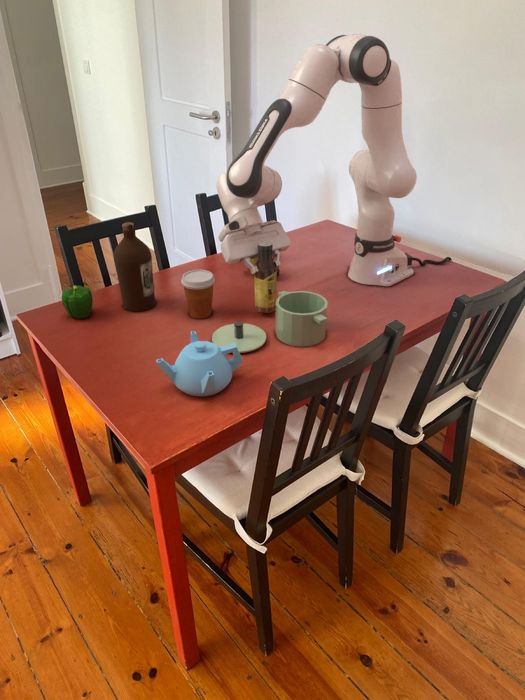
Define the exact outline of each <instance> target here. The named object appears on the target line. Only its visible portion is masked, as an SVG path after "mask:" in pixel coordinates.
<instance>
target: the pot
mask: <svg viewBox="0 0 525 700" xmlns="http://www.w3.org/2000/svg"><path fill="white" fill-rule="evenodd" d="M277 296H278V297H276V308H275V315H274V316H275V317H274V318H275V320H274V321H275V328H274V329H275V336H276V338H277V339H278V340H279V341H280V342H282V343H283V344H286V345H288V346H293V347H310V346H314V345H318V344H319V343H321V342H323V341H324V340H325V339H326V336H327V335H326V333H327V325H328V324H327V323H328V313H329V311H328V309H329V302H328V300H327V298H326V297H325V296H323V295H321V294H320V293H317V292H313V291H305V290H297V291H296V290H295V291H287V290H281V291H279V292H278V293H277Z"/></svg>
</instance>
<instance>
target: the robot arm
mask: <svg viewBox="0 0 525 700" xmlns="http://www.w3.org/2000/svg"><path fill="white" fill-rule="evenodd" d="M339 81H341V82H344V83H348V84H358V86H359V88H360V92H361V93H360V95H361V97H360V98H361V99H360V104H361V105H360V112H361V113H360V114H361V115H360V117H361V120H360V121H361V135H362V139H363V140H364V141H365V142H366V145H367V148H368V149H360V150H359V151H357V152H355V153H354V154H353V155H352V157H351V158H350V160H349V163H348V173H349V176H350V178H351V180H352V182H353V185H354V189H355V195H356V201H357V213H358V214H357V225H356V226H357V227H356V232H355V234H354V243H353V245H354V249H353V253H352V259H351V263H350V264H349V269H348V273H347V277H348V278H349V279H350V280H351V281H353V282H356V283H358V284H362V285H366V286H367V285H368V286H381V287H391V286H393V285H395V284H398V283H399V282H401V281H403V280H405V279H406V278H407V279H408V278H409V277H410V276H412V275H414V269H413V268H412V267H410V266H412V264H413V261H416V262H417V263H418V264H419V265H420V266H425V264H426V263H430V264H434V265H443V264H444V263H446V262H447V261H449V262H452V261H453V259H452V258H451V257H450V256H446V257H445V258H444V259H442V260H439V261H437V260H432V259H423V261H422V259H420V258H418V257H413V256H412V255H410V254H409V253H406V252H403V251H402V249H400V248H399V247H397V246H396V245H395V242H396V243H401V241H402V236H400V235H397V234H396V235H394V234H393V231H394V222H395V209H394V207H393V204H392V203H391V200H390V199H391V198H392V199H403V198H406V197H407V196H408V195H409V194H411V193H412V191H413V190H414V188H415V186H416V184H417V177H418V176H417V171H416V169H415V167H414V166H413V164H412V163H411V161H410V159H409V157H408V153H407V150H406V146H405V142H404V141H405V140H404V137H403V128H402V127H403V126H402V125H403V124H402V123H403V122H402V121H403V120H402V119H403V116H402V114H403V112H402V111H403V110H402V109H403V89H402V78H401V71H400V67H399V64H398V62H396V61H395V60H393V59H391V57H390V52H389V48H388V47H387V45H386V44H385V42H384V41H383V40H381V39H380V38H378V37H376V36H374V35H366V34H360V33H354V34H348V35H347V34H341V35H337V36H335V37H333V38H331V39H330V40H329V41H328V42H327V43H326V44H324V43H323V44H321V43H313V44H311V45H309V46H308V47H307V48H306V50H305V52H304V53H302V55H301V57H300V58H299V60H298V61H297V63H296V65H295V67H294V68H293V70H292V72H291V74H290V76H289V78H288V80H287V83H286V84H285V86H284V88H283V89H282V91H281V93H279V95H278V97H277V98H276V99H275V100H274V101H273V102H272V103H271V104H270V105H269V107H268V108H267V109H266V111H265V112H264V114H263V115H262V117H261V119H260V120H259V122H258V123H257V125H256V127H255V129H254V131H253V132H252V134H251V136H250V137H249V139H248V141H247V143H246V144H245V145H244V148H243V149H242V150H241V151H240V152H239V153H238V155H237V156H236V157H235V158H234V159H232V161H231V163H230V164H229V166H228V168H227V170H225V171H224V172H222V173H221V174H220V176H219V177H218V179H217V180H216V192H217V196H218V198H219V201H220V204H221V207H222V209H223V210H224V212H225V213H226V215H227V218H228V223H226V224H225V225H224V226H223V228H222V229H221V230H220V232H219V234H218V237H217V238H218V241H219V242H221V243H220V250H221V251H220V252H221V255H222V257H223V259H224V262H225V263H226V264H228V265H234V264H239V263H242V264H243V266H245V267H246V268H247V270H249V269H250V270H249V271H250V273H251V275H254V274H256V273H258V272H259V270H258V269H257V266H254V265H252V264H251V263H250V259H254V258H258V256H259V250H258V243H259V242H262V241H269V242H271V243H272V244H273V248H272V258H274V260H273V262H274V265H275V268H279V269H280V267H281V266H282V264H281V261H280V256H281V252H285V251H287V250H288V249H289V248H290V247H291V243H292V242H291V239H290V238H289V236H288V234H287V232H286V230H285V229H284V227H283V225H282V223H281V222H279V221H276V220H275V219H273V220H270V221H263V218H262V216H261V214H260V211H259V209H258V208H259V207H263V206H264V205H267V204H270V203H271V202H273V201H275V200H276V199H277V198H278V197H279V196H280V194H281V192H282V188H283V181H282V177H281V175H280V173H279V172H278V171H277V170H275V169H273V168H271V167H270V166H268V165H266V164H265V162H266V161H267V159H268V157H269V156H270V154H271V152H272V150H273V149H274V147H275V146H276V143H277V142H278V140H279V139H280V137H281V136H282V135H283V134H284V133H285V132H286V131H288V130H292V129H294V128H302V127H306V126H309V125H310V124H312V123H314V121H315V120H316V119H317V118H318V116H319V115H320V113H321V111H322V109H323V107H324V106H325V104H326V102H327V100H328V98H329V95H330V92H331V90H332V89H333V88H334V86H335V85H336V84H337V83H338V82H339Z"/></svg>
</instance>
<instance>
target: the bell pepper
mask: <svg viewBox="0 0 525 700" xmlns="http://www.w3.org/2000/svg"><path fill="white" fill-rule="evenodd" d="M61 302H62V305H63V307H64V309H65V311H66V313H67V315H68V316H69V317H70V318H75V319H78V320H81V319H87V318H88V317H89V316H90V314H91V313H92V309H93V294H92V290H91V288H90V287H85V286H82V285H73V286H72V288H64V289H63V292H62V294H61Z"/></svg>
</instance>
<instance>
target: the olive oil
mask: <svg viewBox="0 0 525 700" xmlns="http://www.w3.org/2000/svg"><path fill="white" fill-rule="evenodd" d="M121 227H122V229H121V230H122V235H123V237H122V239H121V241H119V243H118V244H117V245H116V246H115V248H114V251H113V262H114V267H115V272H116V276H117V281H118V286H119V291H120V295H121V300H122V306H123V308H124V309H125V310H127V311H129V312H144V311H148V310H150V309H152V308H153V307H154V306H155V304H156V297H155V296H156V295H155V283H154V272H153V256H152V252H151V250H150V248H149V246H148V245H147V244H146V242H144V241H143V240H141V239H140V238H139V237H137V235H136V228H135V223H134V222H130V221H128V222H123V223H122V225H121Z"/></svg>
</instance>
